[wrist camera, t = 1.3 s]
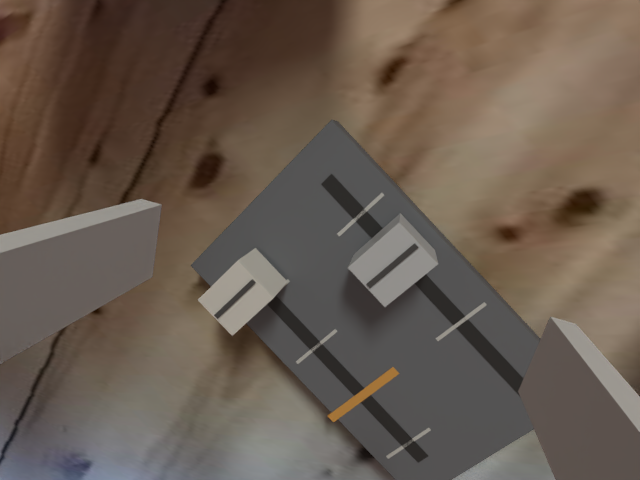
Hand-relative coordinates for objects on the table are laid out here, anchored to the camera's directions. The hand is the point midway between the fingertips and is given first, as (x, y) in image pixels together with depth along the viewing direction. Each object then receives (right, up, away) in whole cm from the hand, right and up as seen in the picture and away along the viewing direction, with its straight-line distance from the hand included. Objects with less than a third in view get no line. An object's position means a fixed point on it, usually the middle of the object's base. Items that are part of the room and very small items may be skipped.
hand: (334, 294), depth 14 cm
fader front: (+5, +1, +20) cm, 21 cm away
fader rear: (-6, -2, +23) cm, 24 cm away
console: (+5, -5, +25) cm, 26 cm away
